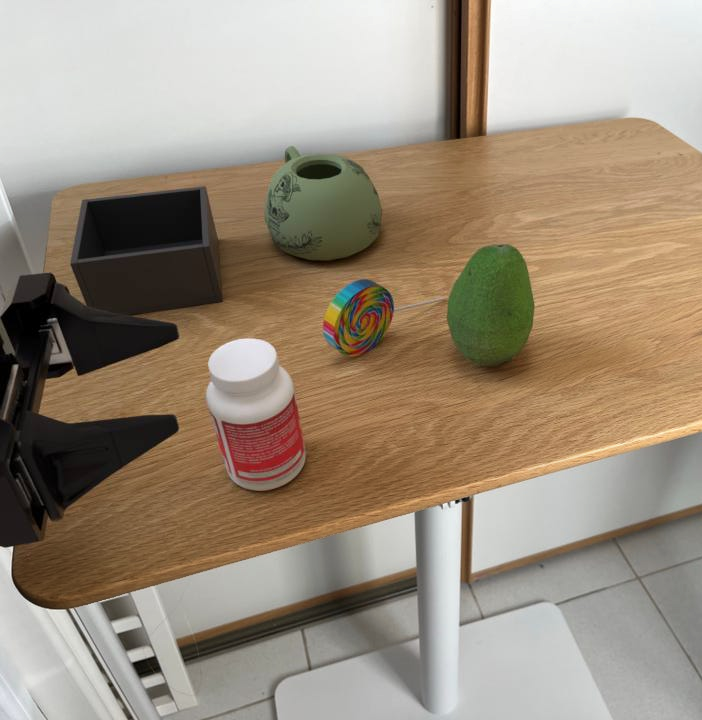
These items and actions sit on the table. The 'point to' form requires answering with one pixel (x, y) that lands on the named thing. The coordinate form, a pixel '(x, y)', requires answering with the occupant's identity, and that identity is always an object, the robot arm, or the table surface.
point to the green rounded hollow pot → (322, 207)
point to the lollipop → (360, 317)
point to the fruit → (491, 306)
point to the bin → (147, 252)
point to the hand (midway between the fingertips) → (177, 373)
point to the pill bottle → (255, 415)
